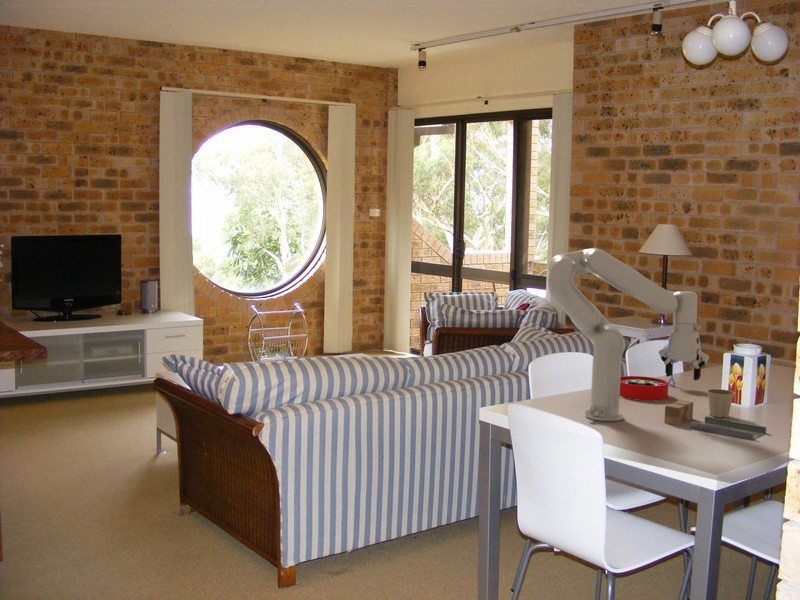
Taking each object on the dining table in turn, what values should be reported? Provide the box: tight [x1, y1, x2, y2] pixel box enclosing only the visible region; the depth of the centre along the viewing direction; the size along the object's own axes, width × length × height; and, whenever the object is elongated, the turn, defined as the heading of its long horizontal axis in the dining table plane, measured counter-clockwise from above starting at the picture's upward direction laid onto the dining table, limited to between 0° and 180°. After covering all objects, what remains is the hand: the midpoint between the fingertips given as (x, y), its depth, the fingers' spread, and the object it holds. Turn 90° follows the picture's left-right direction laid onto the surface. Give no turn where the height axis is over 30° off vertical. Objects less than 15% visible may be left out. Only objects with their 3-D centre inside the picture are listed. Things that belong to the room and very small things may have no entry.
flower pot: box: [706, 388, 736, 418], centre depth 308 cm, size 9×9×9 cm
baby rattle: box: [662, 343, 680, 387], centre depth 359 cm, size 9×9×18 cm
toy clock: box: [620, 375, 669, 401], centre depth 340 cm, size 20×6×20 cm
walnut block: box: [663, 399, 694, 426], centre depth 299 cm, size 13×4×6 cm, turn 140°
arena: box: [690, 415, 767, 441], centre depth 287 cm, size 12×20×2 cm, turn 49°
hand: (682, 377), depth 298 cm, fingers open, 9 cm apart
